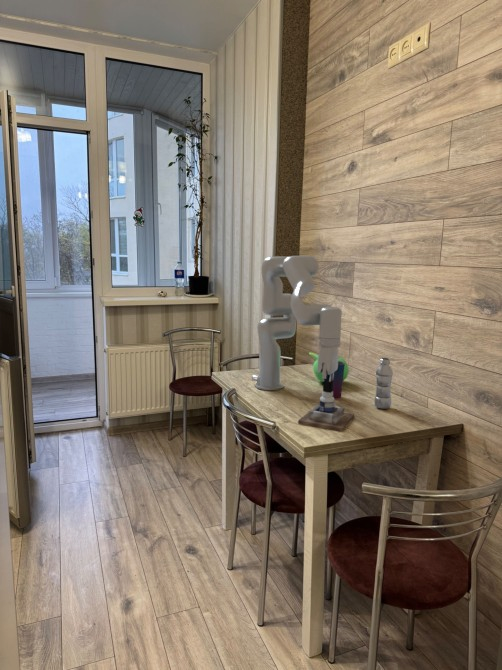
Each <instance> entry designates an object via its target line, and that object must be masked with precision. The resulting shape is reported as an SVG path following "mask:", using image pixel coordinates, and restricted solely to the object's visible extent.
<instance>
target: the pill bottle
mask: <svg viewBox="0 0 502 670" xmlns="http://www.w3.org/2000/svg"><path fill="white" fill-rule="evenodd" d="M332 396H333V391H332V392H331V393H330V392H324V391H323V390H322V391H321V396H320V397H319V404H320V408H319V411H320V412H325V413H331V414H334V406H335V404H336V403H335V400H336V399H334V397H332Z"/></svg>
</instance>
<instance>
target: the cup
mask: <svg viewBox="0 0 502 670" xmlns="http://www.w3.org/2000/svg"><path fill="white" fill-rule="evenodd" d="M344 366H345V363H344V362H342V361H338V369H337V370H336V371H335V372H334V377H333V396H332V397H334V399H335V400H336V399H341V398H342V394H343V393H342V392H343V384H344V383H343V382H344V381H343V375H344Z"/></svg>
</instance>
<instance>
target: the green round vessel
mask: <svg viewBox="0 0 502 670" xmlns="http://www.w3.org/2000/svg"><path fill="white" fill-rule="evenodd" d="M308 355H309V356H310V357H312V358H313V359H314V363H313V366H312V370H313V373H314V376H315V378H316V379H317V380H318V381H320V382H321V383H323V378H322V373H320V374H318V373H317V368H318V356H319V354H317V353H314V352H308ZM338 361H342V362H344V363H345V366H344V375H343V382H344V381H345V380H346V379H347V378H348V376H349V372H350V371H349V364H348V362H347V360H345V359H344V357H342V356H340V355H339V354H338Z"/></svg>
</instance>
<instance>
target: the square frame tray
mask: <svg viewBox="0 0 502 670" xmlns="http://www.w3.org/2000/svg"><path fill="white" fill-rule="evenodd" d="M319 408H320V403H317V404H316V405H315V406H314V407H313V408H312V409H310V410H309V411H308V412H307V413H305V414H304V415H302V417H300V418H299V419H298V421H297V423H298V424H299V425H305V426H312V427H315V428H319V429H320V428H321V429H325V430H331V431H336V432H343V431H344V429H345V428H346V427H347V426H348V425H349V424H350V423H351V421H352V420H353V419H354V418H355V414H354V413H348V412H345V407H343V406H337V405H334V414H331V413H325V412H320V411H319Z"/></svg>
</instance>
